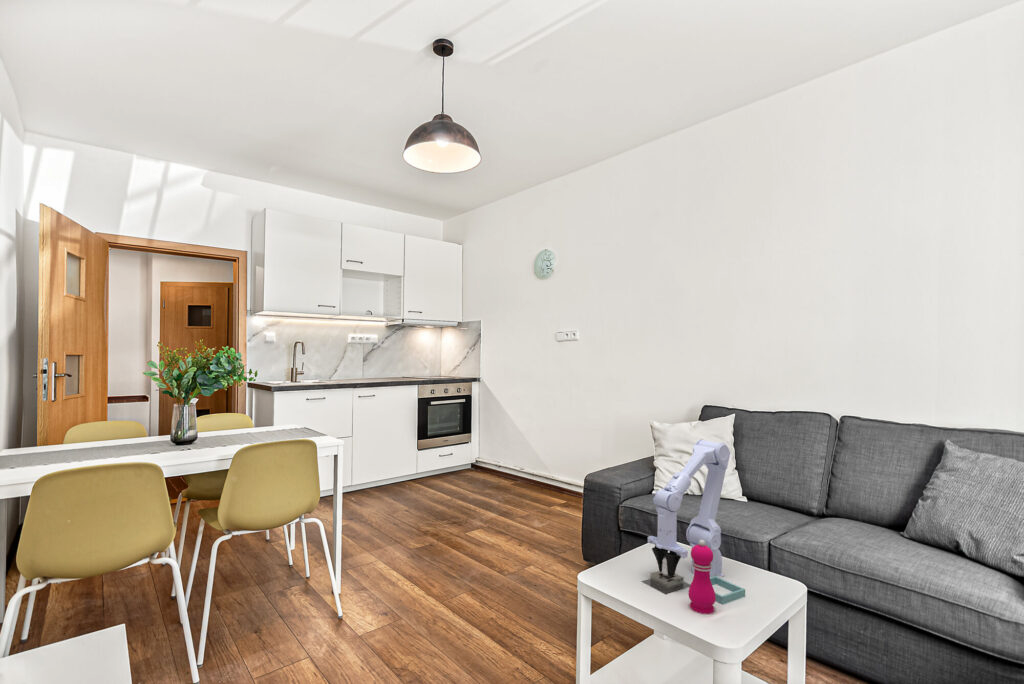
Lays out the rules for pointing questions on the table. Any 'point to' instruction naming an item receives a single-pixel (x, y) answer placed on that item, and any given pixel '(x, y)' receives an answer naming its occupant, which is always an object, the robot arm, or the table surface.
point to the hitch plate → (666, 583)
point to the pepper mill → (702, 580)
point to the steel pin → (665, 568)
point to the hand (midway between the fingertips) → (666, 573)
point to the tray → (736, 590)
